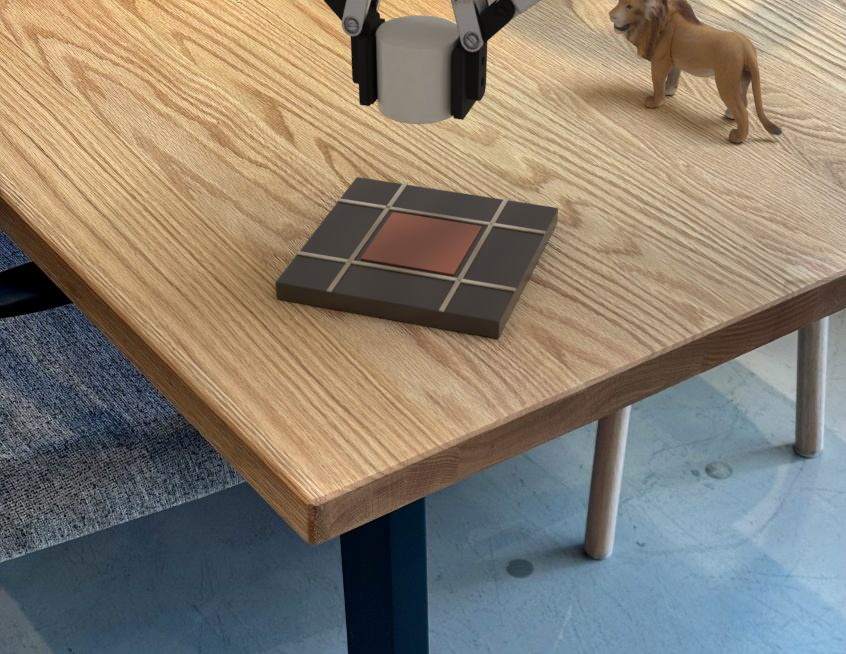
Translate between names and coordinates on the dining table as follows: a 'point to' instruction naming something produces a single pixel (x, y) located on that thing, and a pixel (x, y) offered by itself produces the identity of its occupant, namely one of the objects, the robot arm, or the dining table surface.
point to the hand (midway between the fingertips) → (418, 99)
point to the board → (421, 256)
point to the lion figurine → (692, 56)
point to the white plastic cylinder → (415, 68)
